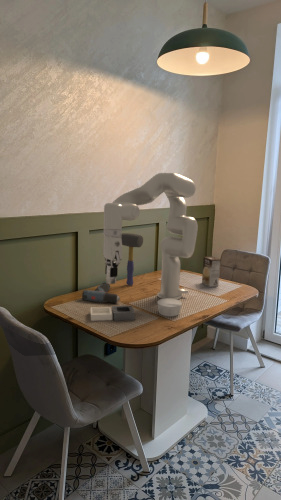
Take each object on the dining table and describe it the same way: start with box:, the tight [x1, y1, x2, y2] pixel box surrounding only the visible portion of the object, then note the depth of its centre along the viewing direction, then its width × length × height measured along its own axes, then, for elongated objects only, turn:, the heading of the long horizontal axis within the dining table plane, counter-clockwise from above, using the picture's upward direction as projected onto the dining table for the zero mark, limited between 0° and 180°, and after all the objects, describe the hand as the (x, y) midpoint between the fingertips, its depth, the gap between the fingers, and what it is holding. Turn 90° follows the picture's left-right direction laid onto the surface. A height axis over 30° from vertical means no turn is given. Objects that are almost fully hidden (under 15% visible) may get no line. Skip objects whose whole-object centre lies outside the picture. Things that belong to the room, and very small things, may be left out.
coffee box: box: [201, 256, 221, 288], centre depth 211 cm, size 9×6×16 cm
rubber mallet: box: [121, 232, 144, 287], centre depth 201 cm, size 12×8×30 cm, turn 58°
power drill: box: [81, 281, 121, 304], centre depth 182 cm, size 5×19×20 cm
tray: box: [89, 306, 113, 322], centre depth 156 cm, size 9×9×3 cm
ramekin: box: [156, 298, 183, 317], centre depth 163 cm, size 11×11×5 cm
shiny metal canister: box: [105, 261, 117, 285], centre depth 152 cm, size 4×4×9 cm
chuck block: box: [111, 305, 136, 322], centre depth 157 cm, size 9×9×3 cm
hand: (111, 275), depth 153 cm, fingers closed on shiny metal canister, 4 cm apart
